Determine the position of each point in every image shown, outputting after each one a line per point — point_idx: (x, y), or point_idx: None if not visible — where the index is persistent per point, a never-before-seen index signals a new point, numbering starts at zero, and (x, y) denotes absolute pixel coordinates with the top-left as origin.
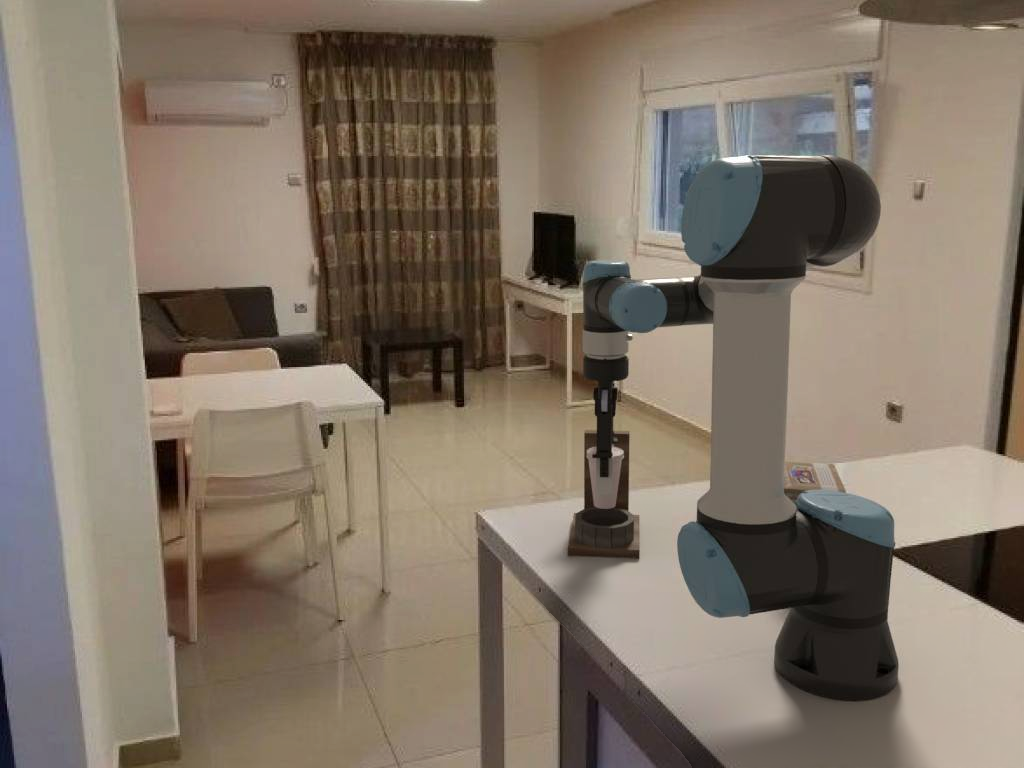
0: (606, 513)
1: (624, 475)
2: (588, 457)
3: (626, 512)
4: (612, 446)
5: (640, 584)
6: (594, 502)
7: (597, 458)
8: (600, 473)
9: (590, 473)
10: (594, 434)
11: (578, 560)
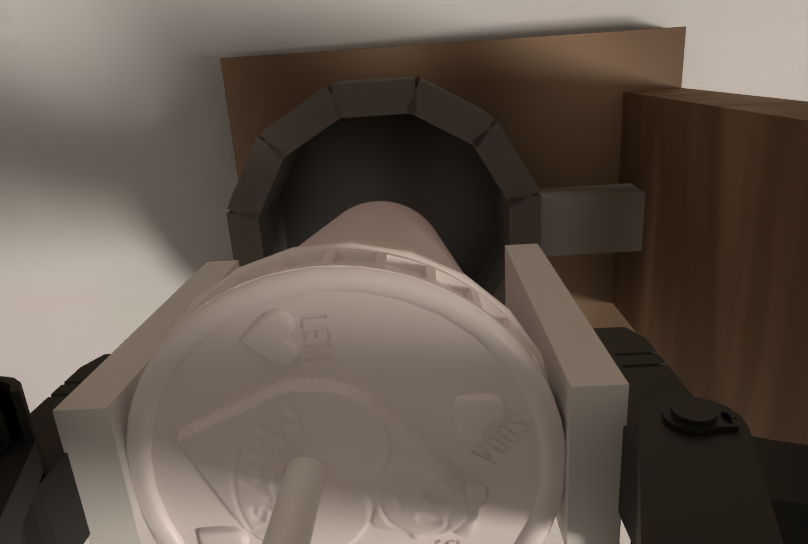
0: (505, 233)
1: (708, 392)
2: (228, 283)
3: None
4: (566, 529)
5: (55, 363)
6: (342, 213)
7: (61, 417)
8: (78, 377)
9: (312, 241)
10: None
11: (197, 114)
